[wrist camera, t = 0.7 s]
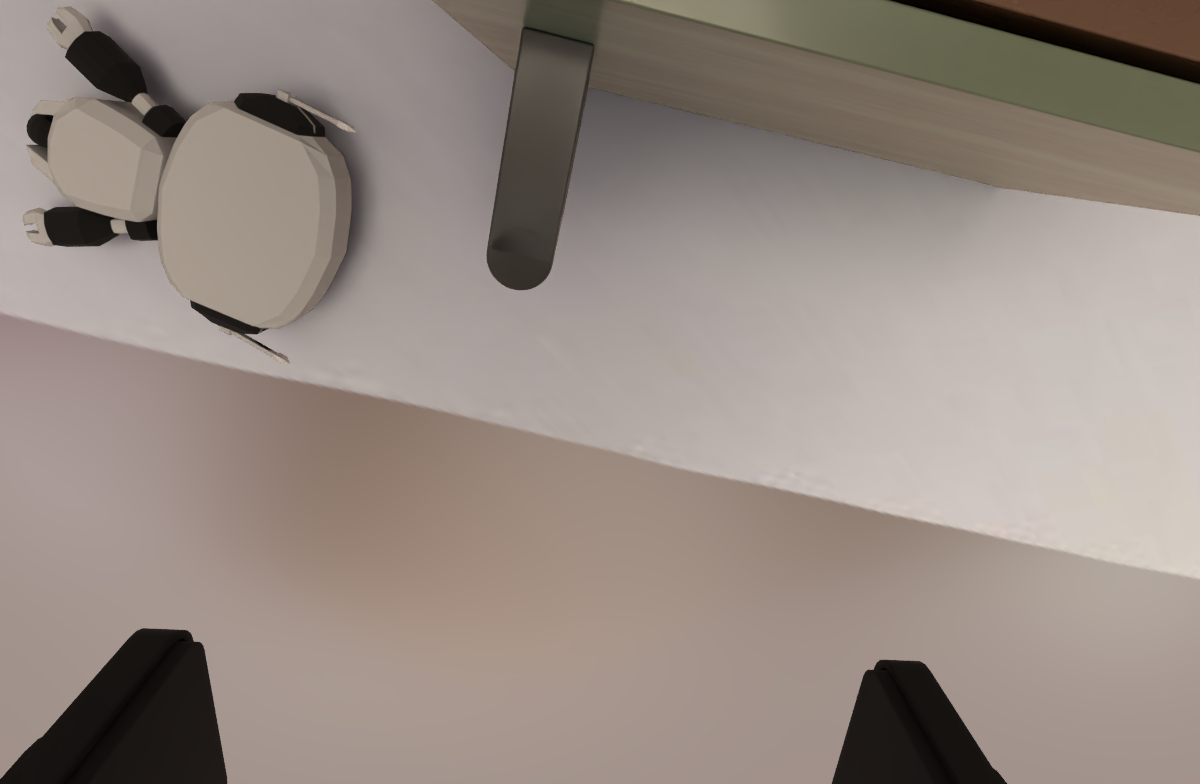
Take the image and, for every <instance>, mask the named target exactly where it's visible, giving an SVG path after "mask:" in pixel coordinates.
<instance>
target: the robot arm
mask: <svg viewBox="0 0 1200 784" xmlns="http://www.w3.org/2000/svg"><path fill="white" fill-rule="evenodd" d="M0 784H227V775H226V769H225V763H224V758H223V752H222V747H221V741H220V736H219V730H218V724H217V718H216V714H215V707H214V701H213V696H212V690H211V684H210V679H209V674H208V667H207V662H206V656H205V650H204V647H203V645H202V644H201V643H200V642H194V641H193V638H192V635H191V633H190V632H188V631H186V630H170V629H169V630H168V629H147V628H146V629H145V628H143V629H140V630H138V631H136V632H135V633H134V634H133V635H132V636H131V637H130V638H129V639H128V640H127V641H126V642H125V644H123V646H122V647H121V648H120V649H119V650H118V651H117V653H116V654H115V655H114V656H113V657H112V658H111V659H110V660H109V662H108V663H107V664H106V665H105V666H104V667H103V668H102V670H101V671H100V672H99V673H98V674H97V675H96V676H95V678H94V679H93V680H92V681H91V682H90V683H89V684H88V685H87V687H86V688H85V689H84V690H83V691H82V692H81V693H80V695H79V696H78V697H77V698H76V699H75V700H74V701H73V703H72V704H71V705H70V706H69V707H68V708H67V710H66V711H65V712H64V713H63V714H62V715H61V716H60V717H59V719H58V720H57V721H56V722H55V723H54V724H53V725H52V726H51V728H50V729H49V730H48V731H47V732H46V733H45V735H44V736H43V737H41V738H39V739H38V740H37V741H36V742H35V743H33V744H32V745H31V747H29V748H28V749H27V750H26V751H25V752H24V753H23V754H22V755H21V757H20V758H19V759H18V760H17V761H16V762H15V763H14V764H13V766H12V767H11V768H10V769H9V770H8V771H7V772H6V774H5V775H4V776H3V777H2V778H1V779H0ZM832 784H1007V783H1006V782H1005V780H1004V779H1003V778H1002V777H1001V775H1000V774H999V773H998V772H997V771H996V770H995V769H993V768H992V766H991V765H990V763H989V762H988V760H987V759H986V757H985V755H984V754H983V752H982V751H981V749H980V748H979V746H978V744H977V743H976V741H975V740H974V738H973V737H972V735H971V734H970V732H969V730H968V729H967V727H966V726H965V724H964V723H963V721H962V720H961V718H960V717H959V715H958V713H957V712H956V710H955V709H954V707H953V706H952V704H951V703H950V701H949V699H948V698H947V696H946V695H945V693H944V692H943V690H942V689H941V687H940V686H939V684H938V682H937V681H936V679H935V678H934V676H933V674H932V673H931V671H930V670H929V669H928V667H927V666H926V665H925V664H923V663H922V662H920V661H899V660H880V661H879V662H877V664H876V666H875V668H874V670H867V671H866V672H865V674H864V676H863V679H862V682H861V686H860V690H859V693H858V696H857V700H856V703H855V706H854V710H853V713H852V717H851V720H850V723H849V727H848V730H847V734H846V737H845V740H844V744H843V747H842V751H841V754H840V757H839V761H838V764H837V768H836V771H835V774H834V778H833V782H832Z"/></svg>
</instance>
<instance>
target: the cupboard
mask: <svg viewBox="0 0 1200 784" xmlns="http://www.w3.org/2000/svg"><path fill="white" fill-rule="evenodd" d="M890 1H894V2H898V3H901V4H905V5H909V6H913V7H916V8H920V9H924V10H927V11H931V12H935V13H938V14H942V15H946V16H950V17H953V18H957V19H961V20H964V21H968V22H972V23H975V24H979V25H983V26H987V27H990V28H994V29H998V30H1001V31H1005V32H1009V33H1013V34H1016V35H1020V36H1024V37H1027V38H1031V39H1035V40H1038V41H1042V42H1046V43H1050V44H1053V45H1057V46H1061V47H1064V48H1068V49H1072V50H1075V51H1079V52H1083V53H1087V54H1090V55H1094V56H1098V57H1101V58H1105V59H1109V60H1112V61H1116V62H1120V63H1124V64H1127V65H1131V66H1135V67H1138V68H1142V69H1146V70H1150V71H1153V72H1157V73H1161V74H1164V75H1168V76H1172V77H1175V78H1179V79H1183V80H1187V81H1190V82H1194V83H1198V84H1200V0H890Z"/></svg>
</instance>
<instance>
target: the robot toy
mask: <svg viewBox="0 0 1200 784" xmlns="http://www.w3.org/2000/svg"><path fill="white" fill-rule="evenodd" d="M55 13H56V14H57V15H58V16H59V17H60V18H61V19H62V20H63V21H64V22H65V23H66V24H67V27H66V26H65V25H64V24H63V23H62V22H61V21H60V20H59V19H55V18H52V17H51V18H50V20H49V21H48V27H47V30H48V31H49V33H50V34H51V35H52V37H53V38H54V40H55V41H56V43H57V44H58V45H59V46H61V47H62V48H64V49H67V53H66V56H65V58H66V59H68V60H69V61H70V62H71V63H72V64H73V65H74V66H75V67H76V68H77V69H78V70H79V71H80V72H81V73H82V74H83V75H84V76H85V77H86V78H87V79H88V80H89V81H90V82H91V83H92V84H93V85H94V86H95V87H96V88H97V89H99V90H101V91H104V92H106V93H108V94H111V95H113V96H115V97H117V98H120V99H122V100H124V101H127V102H120V101H110V100H100V99H90V98H80V97H75V98H73V99H70V100H68V101H66V102H59V101H43V100H41V101H40V102H39V103H38V104H37V105H36V107H35V108H34V109H33V110H32V111H31V114H35V115H33V116H32V117H31V118H30V119H29V121H28V123H27V133H28V136H29V137H30V138H31V140H32V141H33V142H34V143H36V144H38V145H26V146H27V149H28V153H29V156H30V159H31V162H32V165H34V166H35V167H36V168H37V169H38V170H40V171H41V172H42V173H43V174H45V175H46V176H47V177H48V178H49V179H51V180H52V181H53V182H54V183H55V185H56V186H57V188H58V189H59V191H60V192H61V194H62V195H63V196H65V197H66V198H67V199H69V200H70V201H71V202H72V203H74V204H75V205H76V206H77V207H55V208H53V209H50V210H48V211H46V210H44V209H41V208H37V209H34V210H30V211H28V212H26V213H25V214H24V215H23V222H24V225H27V224H34V223H36V225H37V228H38V231H35V230H32V231H26V232H27V235H28V237H29V239H30V240H31V241H32V242H34V243H37V244H41V245H45V246H50V247H51V246H53V245H58V246H66V247H74V246H100V245H102V244H104V243H106V242H108V241H110V240H111V239H113V238H115V237H116V236H118V235H119V234H129V236H130V238H131V239H133V240H139V241H149V240H158V245H159V253H160V257H161V262H162V264H163V267H164V269H165V272H166V274H167V276H168V279H169V281H170V283H171V284H172V285H173V287H174V288H175V289H176V290H177V291H178V292H179V293H180V294H181V295H182V297H184V298H187V299H189V300H190V302H191V307H192V308H193V309H195V310H196V311H198V312H199V313H200V314H202V315H203V316H205V317H206V318H207V319H208V320H209V321H211V322H212V323H215V324H217V325H220V328H219V330H220V331H222V332H224V333H226V334H227V335H235V336H236V337H238V338H240V339H242V340H243V341H245V342H247V343H249V344H250V345H252V346H254V347H256V348H257V349H259V350H261V351H263V352H264V353H266V354H268V355H270V356H271V357H273V359H274V360H276V361H278V362H279V363H289V360H288V358H287V357H286V356H284V355H283V354H281V353H277V352H275V351H273V350H272V349H270V348H268V347H266V346H265V345H263V344H261V343H259V342H258V341H256V340H254V339H252V338H251V337H249V336H247V335H245V334H258V333H260V332H262V331H265V330H267V329H269V328H281V327H283V326H285V325H287V324H289V323H291V322H293V321H295V320H297V319H298V318H300V317H301V316H303V315H305V314H306V313H308V312H309V311H311V310H312V309H313V308H314V307H315V306H316V305H317V304H318V303H319V301H320V300H321V298H322V297H323V295H324V294H325V292H326V291H327V290H328V288H329V286H330V284H331V282H332V280H333V278H334V276H335V274H336V272H337V270H338V268H339V266H340V264H341V262H342V260H343V258H344V256H345V254H346V250H347V243H348V235H349V227H350V220H351V212H352V189H351V180H350V175H349V172H348V169H347V166H346V163H345V160H344V156H343V155H342V154H341V153H340V152H339V151H338V150H337V149H336V148H335V147H334V146H333V145H332V144H331V143H330V142H329V141H328V140H327V139H326V138H325V128H324V126H323V125H322V124H321V123H320V122H319V121H317V120H316V119H315V118H314V117H313V116H312V115H311V114H310V113H309V112H311V113H313V114H315V115H317V116H319V117H321V118H323V119H325V120H327V121H329V122H331V123H333V124H335V125H337V127H339V128H341V129H343V130H345V131H348V132H356V130H355V129H354V127H353V126H351V125H349V124H347V123H345V122H342V121H339V120H337V119H335V118H333V117H331V116H329V115H327V114H325V113H323V112H321V111H319V110H317V109H315V108H313V107H311V106H309V105H307V104H305V103H303V102H301V101H299V100H297V97H296V96H294V95H292V94H290V93H288V92H286V91H282V90H278V91H277V95H271V94H262V93H240V94H239V95H238V97H237V98H236V100H235V101H234V102H214V103H208V104H206V105H205V106H204V107H202V108H201V109H200V110H198V111H197V112H196V113H194V114H193V115H192V116H191V117H190V118H189V119H188V121H187V122H186V121H185V120H184V119H183V118H182V117H181V116H180V115H179V114H178V113H177V112H176V111H175V110H174V109H173V108H172V107H169V106H167V105H158V104H157V103H156V102H155V101H154V100H153V99H152V98H151V97H150V96H149V95H148V93H147V89H146V85H145V81H144V78H143V75H142V72H141V69H140V67H139V66H138V65H137V64H136V63H135V62H134V61H133V60H132V59H131V58H130V57H129V56H128V55H127V54H126V53H125V52H124V51H123V50H122V49H121V48H120V47H119V46H118V45H117V44H116V43H115V42H114V41H113V40H112V39H111V38H110V37H109V36H107V35H106V34H104V33H102V32H100V31H93V30H92V27H91V25H90V22H89V20H88V19H87V18H86V17H85V16H84V15H82V14H81V13H79V12H78V11H77V10H75V9H74V8H72V7H71V6H70V7H60V8H58V9H57V10H56V11H55ZM308 111H309V112H308ZM53 115H54V116H53Z"/></svg>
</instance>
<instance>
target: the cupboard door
mask: <svg viewBox="0 0 1200 784" xmlns="http://www.w3.org/2000/svg"><path fill="white" fill-rule="evenodd" d="M432 1H434V2H435V3H436V4H437V5H438V6H439V7H441V8H442V9H443V10H444V11H445V12H446V13H448V14H449V15H450V16H451V17H452V18H453V19H455V20H456V21H457V22H458V23H459V24H460V25H462V26H463V27H464V28H465V29H466V30H467V31H469V32H470V33H471V34H472V35H473V36H474V37H476V38H477V39H478V40H479V41H480V42H481V43H483V44H484V45H485V46H486V47H487V48H488V49H490V50H491V51H492V52H493V53H494V54H495V55H496V56H498V57H499V58H500V59H501V60H502V61H503V62H505V63H506V64H507V65H508V66H509V67H510V68H513V69H515V76H514V82H513V88H512V95H511V101H510V107H509V114H508V120H507V126H506V133H505V139H504V145H503V152H502V158H501V164H500V171H499V177H498V183H497V190H496V196H495V202H494V209H493V215H492V221H491V228H490V234H489V240H488V247H487V264H488V267H489V269H490V272H491V273H492V275H493V276H494V277H495V279H496V280H497V281H498V282H500V283H501V284H502V285H504V286H506V287H508V288H510V289H514V290H528V289H532V288H534V287H536V286H538V285H539V284H541V283H542V282H543V281H544V280H545V279H546V278H547V276H548V275H549V273H550V271H551V268H552V264H553V260H554V255H555V250H556V246H557V241H558V236H559V232H560V227H561V222H562V218H563V213H564V208H565V203H566V198H567V193H568V188H569V182H570V177H571V172H572V167H573V162H574V157H575V152H576V147H577V141H578V136H579V131H580V126H581V121H582V116H583V111H584V106H585V101H586V95H587V90H588V87H590V88H595V89H599V90H603V91H607V92H611V93H615V94H619V95H623V96H627V97H632V98H636V99H640V100H644V101H648V102H652V103H656V104H660V105H664V106H668V107H673V108H677V109H681V110H685V111H689V112H693V113H697V114H701V115H705V116H710V117H714V118H718V119H722V120H726V121H730V122H734V123H738V124H742V125H746V126H751V127H755V128H759V129H763V130H767V131H771V132H775V133H779V134H783V135H787V136H792V137H796V138H800V139H804V140H808V141H812V142H816V143H820V144H824V145H829V146H833V147H837V148H841V149H845V150H849V151H853V152H857V153H861V154H865V155H870V156H874V157H878V158H882V159H886V160H890V161H894V162H898V163H902V164H907V165H911V166H915V167H919V168H923V169H927V170H931V171H935V172H939V173H943V174H948V175H952V176H956V177H960V178H964V179H968V180H972V181H976V182H980V183H984V184H989V185H993V186H997V187H1001V188H1006V189H1013V190H1020V191H1027V192H1034V193H1041V194H1048V195H1056V196H1063V197H1070V198H1077V199H1084V200H1091V201H1098V202H1105V203H1112V204H1119V205H1126V206H1134V207H1141V208H1148V209H1155V210H1162V211H1169V212H1176V213H1183V214H1190V215H1197V216H1200V84H1198V83H1194V82H1190V81H1187V80H1183V79H1179V78H1175V77H1172V76H1168V75H1164V74H1161V73H1157V72H1153V71H1150V70H1146V69H1142V68H1138V67H1135V66H1131V65H1127V64H1124V63H1120V62H1116V61H1112V60H1109V59H1105V58H1101V57H1098V56H1094V55H1090V54H1087V53H1083V52H1079V51H1075V50H1072V49H1068V48H1064V47H1061V46H1057V45H1053V44H1050V43H1046V42H1042V41H1038V40H1035V39H1031V38H1027V37H1024V36H1020V35H1016V34H1013V33H1009V32H1005V31H1001V30H998V29H994V28H990V27H987V26H983V25H979V24H975V23H972V22H968V21H964V20H961V19H957V18H953V17H950V16H946V15H942V14H938V13H935V12H931V11H927V10H924V9H920V8H916V7H913V6H909V5H905V4H901V3H898V2H894V1H890V0H432Z"/></svg>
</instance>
